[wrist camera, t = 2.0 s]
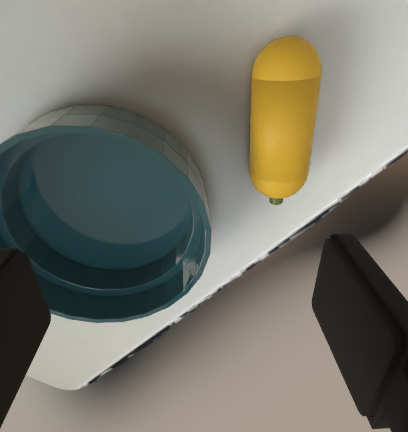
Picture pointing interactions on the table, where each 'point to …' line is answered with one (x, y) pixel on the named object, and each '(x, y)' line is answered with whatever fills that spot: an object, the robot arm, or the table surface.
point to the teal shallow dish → (104, 212)
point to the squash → (283, 116)
